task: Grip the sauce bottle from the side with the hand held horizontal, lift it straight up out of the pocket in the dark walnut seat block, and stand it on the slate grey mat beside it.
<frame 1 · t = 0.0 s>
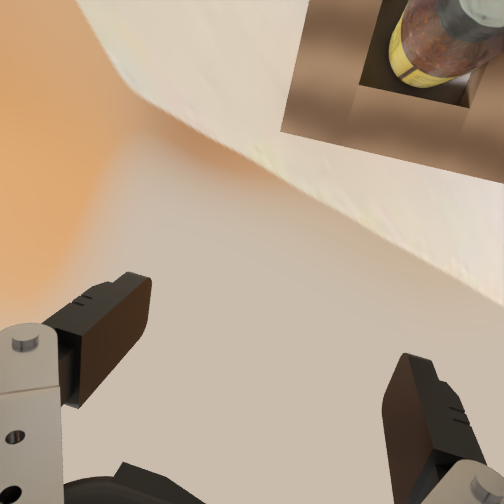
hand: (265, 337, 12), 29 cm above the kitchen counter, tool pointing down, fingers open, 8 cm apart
seat block: (422, 48, 34), on the kitchen counter
sauce bottle: (422, 48, 34), resting in seat block
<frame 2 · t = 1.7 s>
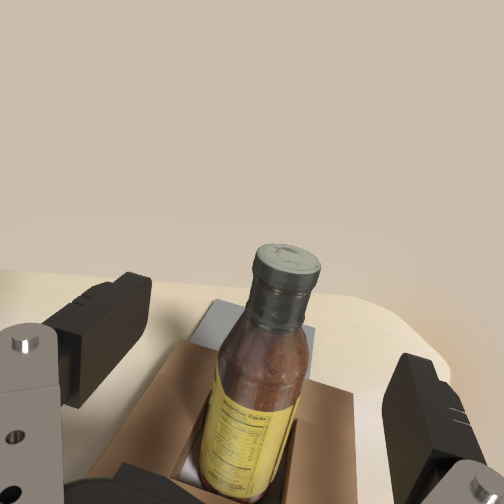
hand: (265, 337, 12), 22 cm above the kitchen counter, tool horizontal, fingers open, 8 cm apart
seat block: (232, 475, 32), on the kitchen counter
grey mat: (254, 343, 48), on the kitchen counter
sauce bottle: (232, 477, 32), resting in seat block
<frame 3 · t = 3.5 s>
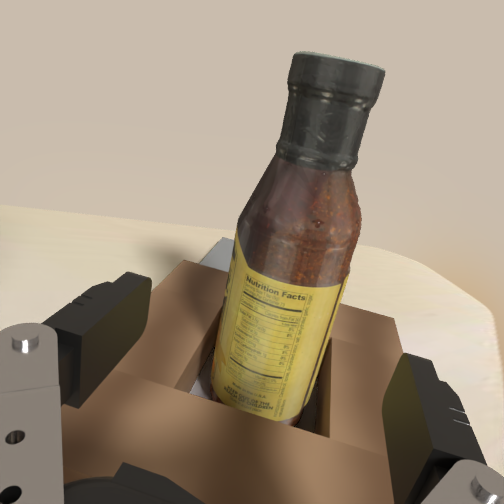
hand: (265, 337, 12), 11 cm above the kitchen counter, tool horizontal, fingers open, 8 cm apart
seat block: (253, 403, 25), on the kitchen counter
grey mat: (268, 279, 41), on the kitchen counter
sauce bottle: (252, 406, 25), resting in seat block
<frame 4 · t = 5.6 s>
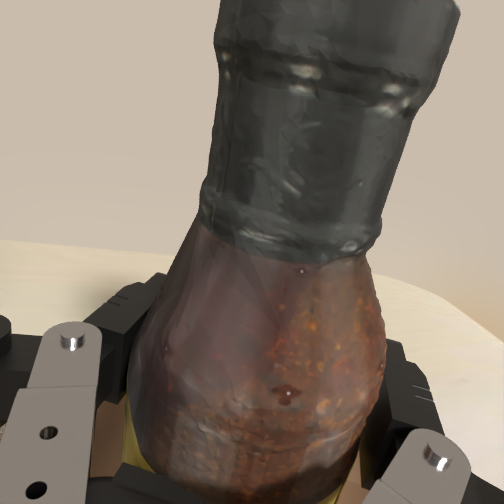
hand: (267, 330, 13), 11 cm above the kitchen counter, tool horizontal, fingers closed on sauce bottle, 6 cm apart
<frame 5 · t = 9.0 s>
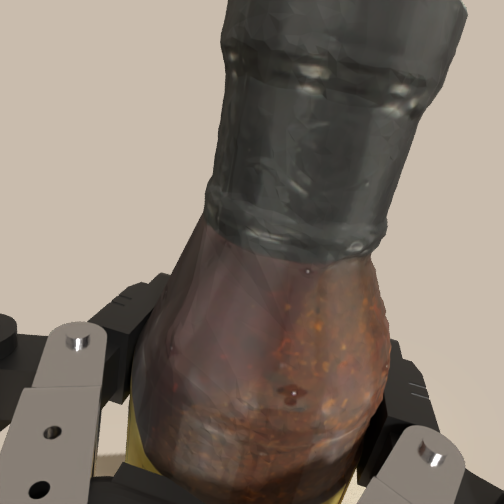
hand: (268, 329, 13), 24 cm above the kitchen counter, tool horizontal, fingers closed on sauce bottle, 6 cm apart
when the fingers open (13 cm above the kitchen counter, at t = 12.3 s): sauce bottle stays where it is, resting on grey mat.
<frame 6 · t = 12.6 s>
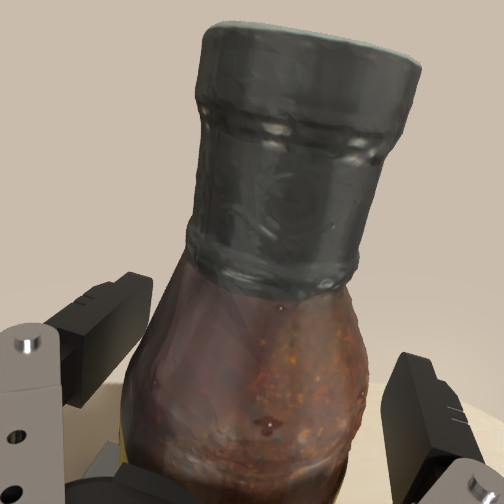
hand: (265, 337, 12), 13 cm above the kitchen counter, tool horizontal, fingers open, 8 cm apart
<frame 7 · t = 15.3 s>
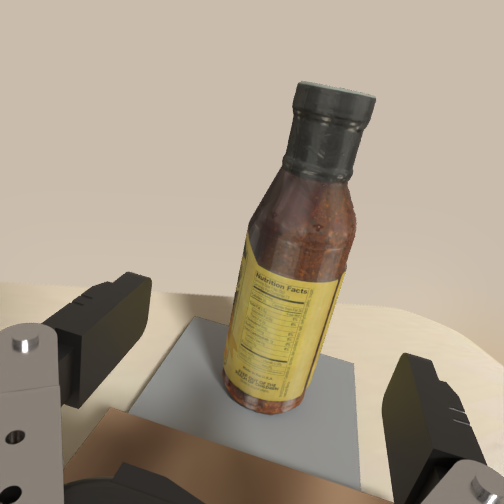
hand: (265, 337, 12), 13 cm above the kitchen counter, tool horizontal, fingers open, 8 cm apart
grey mat: (256, 395, 28), on the kitchen counter
sauce bottle: (259, 389, 28), point 1 cm above the kitchen counter, touching grey mat
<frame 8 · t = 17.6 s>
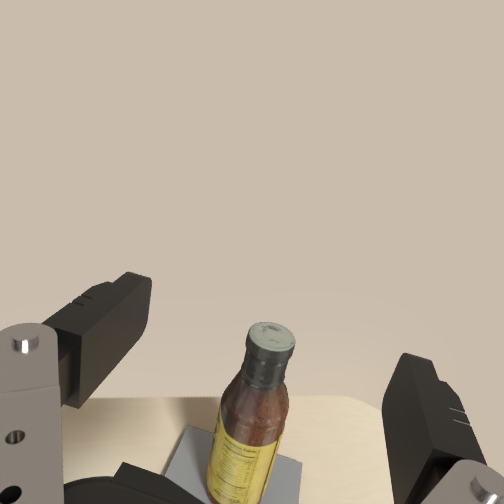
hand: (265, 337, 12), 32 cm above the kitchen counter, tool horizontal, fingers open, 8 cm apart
grey mat: (229, 495, 41), on the kitchen counter
sauce bottle: (232, 492, 40), point 1 cm above the kitchen counter, touching grey mat
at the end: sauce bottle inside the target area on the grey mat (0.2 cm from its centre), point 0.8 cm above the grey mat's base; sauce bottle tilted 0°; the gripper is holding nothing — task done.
